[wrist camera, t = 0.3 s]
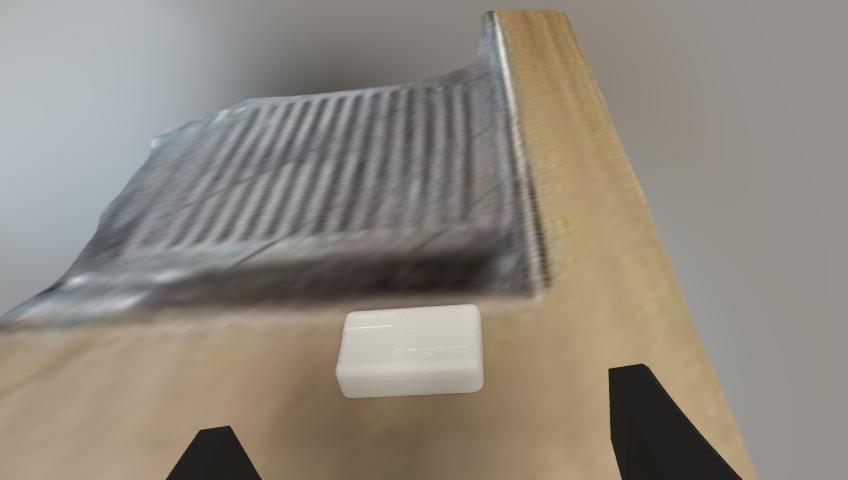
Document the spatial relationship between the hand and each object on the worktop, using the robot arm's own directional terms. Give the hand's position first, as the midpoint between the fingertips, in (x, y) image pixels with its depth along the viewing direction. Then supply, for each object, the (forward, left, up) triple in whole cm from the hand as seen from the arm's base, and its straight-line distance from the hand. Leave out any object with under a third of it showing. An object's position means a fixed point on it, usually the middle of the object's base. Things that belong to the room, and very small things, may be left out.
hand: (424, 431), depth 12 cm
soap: (+20, +4, -21) cm, 29 cm away
